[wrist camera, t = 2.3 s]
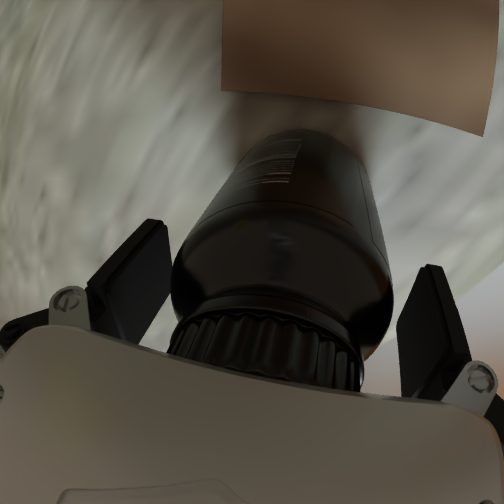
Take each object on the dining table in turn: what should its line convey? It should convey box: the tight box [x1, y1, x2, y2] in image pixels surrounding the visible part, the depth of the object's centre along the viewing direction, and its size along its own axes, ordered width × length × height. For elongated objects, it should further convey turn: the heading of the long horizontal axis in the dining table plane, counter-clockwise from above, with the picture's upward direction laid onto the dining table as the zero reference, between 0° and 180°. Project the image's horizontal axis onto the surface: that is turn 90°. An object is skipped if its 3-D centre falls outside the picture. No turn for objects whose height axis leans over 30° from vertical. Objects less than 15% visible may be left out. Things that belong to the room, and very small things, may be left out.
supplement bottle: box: [166, 130, 394, 392], centre depth 11 cm, size 7×7×12 cm
